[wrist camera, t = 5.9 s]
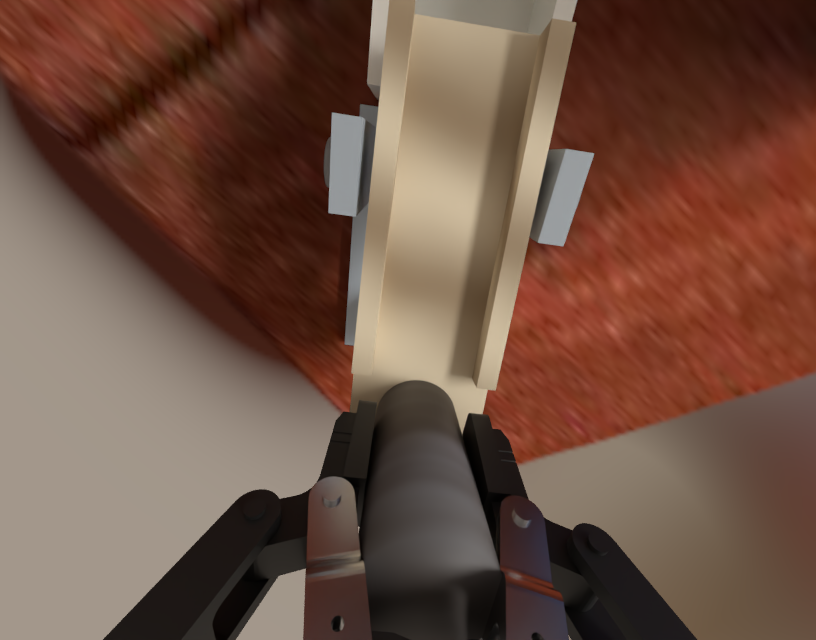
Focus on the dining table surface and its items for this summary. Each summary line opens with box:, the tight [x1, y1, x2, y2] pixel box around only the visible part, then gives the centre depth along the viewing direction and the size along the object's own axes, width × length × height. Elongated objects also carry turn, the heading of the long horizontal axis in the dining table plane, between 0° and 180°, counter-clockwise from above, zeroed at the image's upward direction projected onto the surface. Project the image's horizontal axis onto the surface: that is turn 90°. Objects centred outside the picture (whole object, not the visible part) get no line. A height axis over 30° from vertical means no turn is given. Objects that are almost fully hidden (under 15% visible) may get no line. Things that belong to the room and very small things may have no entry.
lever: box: [350, 0, 576, 640], centre depth 11 cm, size 17×6×9 cm, turn 171°
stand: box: [324, 104, 594, 346], centre depth 18 cm, size 15×10×9 cm, turn 172°
